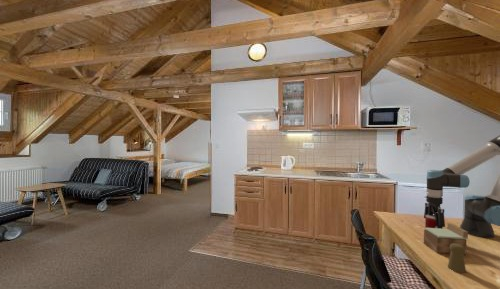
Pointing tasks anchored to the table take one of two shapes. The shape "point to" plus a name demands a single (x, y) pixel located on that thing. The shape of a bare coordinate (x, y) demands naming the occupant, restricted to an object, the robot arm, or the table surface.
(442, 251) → the box
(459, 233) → the lid
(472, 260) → the table surface
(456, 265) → the cork
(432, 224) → the canned food
